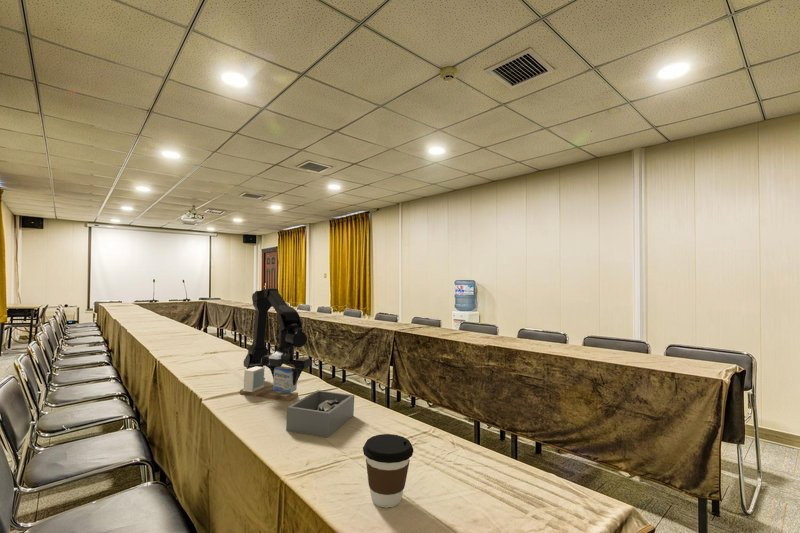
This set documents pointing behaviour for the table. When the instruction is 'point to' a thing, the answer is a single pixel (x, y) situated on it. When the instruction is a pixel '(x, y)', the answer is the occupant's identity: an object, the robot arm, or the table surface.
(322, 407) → the camera
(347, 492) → the table surface
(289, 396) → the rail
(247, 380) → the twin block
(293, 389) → the medicine box
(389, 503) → the coffee cup
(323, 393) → the tray
